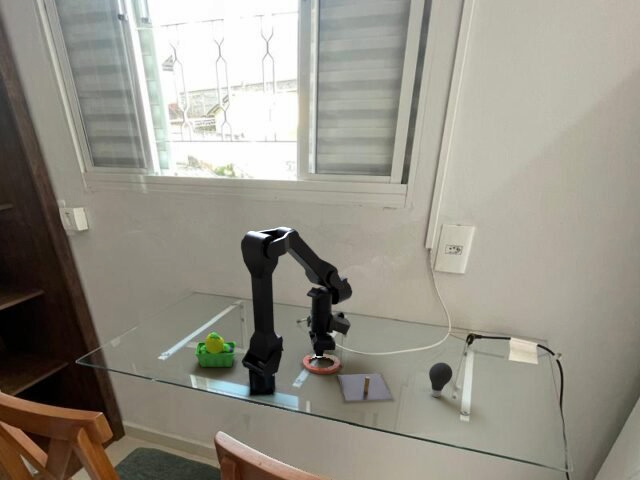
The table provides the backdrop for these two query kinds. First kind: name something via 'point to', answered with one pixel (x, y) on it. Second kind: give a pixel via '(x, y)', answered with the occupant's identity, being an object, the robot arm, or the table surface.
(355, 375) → the peg stand
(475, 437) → the table surface
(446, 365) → the light bulb
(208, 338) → the fruit basket
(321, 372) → the ring
